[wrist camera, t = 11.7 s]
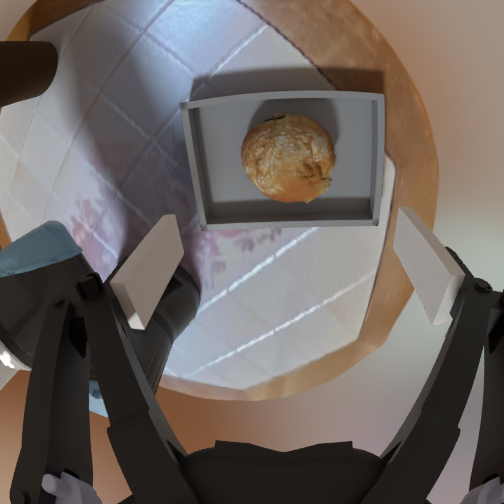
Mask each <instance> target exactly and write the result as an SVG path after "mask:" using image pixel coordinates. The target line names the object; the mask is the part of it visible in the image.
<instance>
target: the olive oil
mask: <svg viewBox="0 0 504 504" xmlns="http://www.w3.org/2000/svg"><path fill="white" fill-rule="evenodd" d="M56 68H57V52H56V49H55V47H54V46H53V45H52V44H51V43H49V42H41V41H0V108H1V107H4V106H7V105H10V104H13V103H16V102H19V101H23V100H26V99H30V98H34V97H37V96H39V95H41V94H43V93H44V92H45V91H46V90H47V89H48V87H49V86H50V84H51V82H52V80H53V78H54V76H55V72H56Z"/></svg>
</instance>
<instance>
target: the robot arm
mask: <svg viewBox="0 0 504 504" xmlns="http://www.w3.org/2000/svg"><path fill="white" fill-rule="evenodd" d="M393 249H394V251H395V253H396V255H397V256H398V258H399V260H400V262H401V264H402V265H403V267H404V269H405V271H406V273H407V275H408V277H409V279H410V280H411V282H412V284H413V286H414V288H415V290H416V292H417V294H418V296H419V298H420V300H421V302H422V304H423V306H424V309H425V311H426V313H427V315H428V317H429V319H430V322H431V323H432V325H437V324H444V323H446V320H447V318H448V316H449V314H450V315H451V317H452V318H453V321H452V323H451V325H450V327H449V329H448V331H447V333H446V335H445V337H446V338H445V340H444V343H443V345H442V348H441V350H440V353H439V355H438V357H437V359H436V362H435V364H434V366H433V368H432V371H431V373H430V375H429V377H428V379H427V381H426V383H425V385H424V387H423V389H422V391H421V393H420V395H419V397H418V399H417V400H416V402H415V404H414V406H413V408H412V409H411V411H410V413H409V415H408V416H407V418H406V420H405V421H404V423H403V425H402V426H401V428H400V429H399V431H398V433H397V434H396V436H395V437H394V439H393V440H392V442H391V443H390V444H389V446H388V447H387V448H386V450H385V451H384V452H383V453H382V454H381V456H380V457H378V456H376V455H374V454H372V453H370V452H367V451H365V450H360V449H356V448H353V447H352V441H348V442H336V443H323V444H316V445H313V446H309V447H305V448H301V449H297V450H293V451H289V452H279V451H275V450H271V449H267V448H263V447H260V446H256V445H253V444H250V443H238V442H227V441H218V440H216V442H215V447H213V448H206V449H202V450H199V451H196V452H194V453H191V454H189V455H188V453H187V452H186V451H185V449H184V448H183V447H182V445H181V444H180V442H179V441H178V439H177V438H176V436H175V434H174V432H173V431H172V429H171V427H170V425H169V423H168V421H167V420H166V418H165V416H164V414H163V412H162V410H161V408H160V406H159V404H158V402H157V400H156V399H155V394H156V391H157V388H158V385H159V382H160V379H161V376H162V373H163V370H164V367H165V364H166V362H167V359H168V356H169V353H170V350H171V348H172V345H173V342H174V340H175V339H176V338H177V337H178V336H179V335H180V334H181V333H182V332H183V331H184V329H185V328H186V327H187V326H188V325H190V324H191V323H192V321H193V320H194V318H195V316H196V313H197V311H198V308H199V304H200V295H199V291H198V288H197V286H196V284H195V282H194V281H193V279H192V278H191V276H190V275H189V274H188V273H187V272H186V271H185V270H184V269H183V268H182V267H181V266H179V265H178V264H179V262H180V260H181V259H182V257H183V255H184V250H183V246H182V242H181V238H180V234H179V229H178V225H177V221H176V216H175V214H170V215H163V216H162V217H161V219H160V220H159V221H158V222H157V223H156V224H155V226H154V227H153V228H152V229H151V230H150V232H149V233H148V234H147V235H146V236H145V238H144V239H143V240H142V241H141V243H140V244H139V245H138V246H137V248H136V249H135V250H134V251H133V253H132V254H131V255H130V256H127V257H126V258H124V259H123V260H122V261H120V263H119V264H118V265H117V266H116V268H115V269H114V270H113V271H112V273H111V274H110V275H109V277H108V278H107V279H106V281H105V282H104V283H103V282H102V280H101V278H100V276H99V274H98V273H97V272H94V270H93V269H92V267H91V266H90V264H89V263H88V261H87V260H86V258H85V257H84V255H83V254H82V251H83V250H82V248H81V247H80V246H78V245H77V244H76V242H75V241H74V239H73V238H72V236H71V235H70V233H69V232H68V230H67V229H66V227H65V226H64V225H63V224H62V223H60V222H58V221H48V222H46V223H44V224H42V225H40V226H39V227H37V228H35V229H33V230H32V231H30V232H29V233H27V234H25V235H24V236H22V237H20V238H19V239H17V240H16V241H14V242H12V243H11V244H9V245H8V246H6V247H5V248H3V249H2V250H1V251H0V390H1V389H2V388H3V386H4V385H5V384H6V383H7V382H8V381H9V380H10V378H12V377H13V376H14V374H15V373H16V372H17V371H18V370H20V369H23V370H28V371H31V374H30V379H29V384H28V391H27V397H26V404H25V411H24V421H23V432H22V448H21V451H20V455H19V458H18V461H17V465H16V468H15V472H14V476H13V480H12V484H11V488H10V501H11V504H102V501H101V499H100V498H99V497H98V496H97V493H96V491H95V490H94V489H93V465H92V454H91V441H90V423H89V410H91V411H93V412H95V413H98V414H100V415H103V416H105V417H108V418H109V421H110V427H108V428H107V433H108V437H109V440H110V443H111V445H112V448H113V451H114V453H115V456H116V458H117V461H118V463H119V465H120V468H121V470H122V473H123V474H124V477H125V479H126V481H127V483H128V486H129V488H130V490H131V492H132V495H131V496H129V497H127V498H126V499H124V500H123V501H121V502H120V503H118V504H431V503H430V502H429V501H428V500H427V499H426V498H427V496H428V494H429V493H430V491H431V489H432V488H433V486H434V484H435V483H436V481H437V479H438V478H439V476H440V474H441V472H442V470H443V469H444V467H445V465H446V463H447V461H448V459H449V457H450V455H451V453H452V451H453V449H454V447H455V444H456V442H457V440H458V437H459V435H460V429H459V428H458V424H459V421H460V419H461V416H462V414H463V411H464V408H465V406H466V403H467V400H468V397H469V395H470V392H471V389H472V386H473V382H474V379H475V376H476V373H477V369H478V365H479V362H480V358H481V354H482V350H483V346H484V361H485V362H484V366H485V367H484V394H483V406H482V416H481V425H480V431H479V438H478V444H477V449H476V454H475V459H474V463H473V469H472V473H471V479H470V486H469V493H468V494H467V495H466V496H465V497H464V499H463V501H462V502H461V503H460V504H504V290H503V292H497V291H493V290H492V287H491V286H490V284H488V282H486V281H484V280H483V279H480V278H474V276H473V275H472V274H471V272H470V271H469V270H468V268H467V267H466V266H465V264H463V262H462V260H461V259H459V257H458V256H457V254H456V253H455V252H454V251H453V250H451V249H450V248H449V247H444V246H443V245H442V243H441V242H440V241H439V240H438V239H437V237H436V236H435V235H434V234H433V232H432V231H431V230H430V229H429V228H428V226H427V225H426V224H425V223H424V222H423V221H422V220H421V218H420V217H419V216H418V215H417V214H416V213H415V212H414V211H413V210H412V209H411V207H399V209H398V217H397V224H396V230H395V236H394V242H393Z"/></svg>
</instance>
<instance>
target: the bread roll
mask: <svg viewBox="0 0 504 504" xmlns="http://www.w3.org/2000/svg"><path fill="white" fill-rule="evenodd" d="M272 117H273V118H272V119H267V120H265V121H263V122H262V123H259V124H257V125H256V126H254V127H253V128H252V129H251V130H250V131H249V132H248V133H247V135H246V136H245V138H244V140H243V143H242V147H241V159H242V166H243V169H244V172H245V174H246V175H247V177H248V179H249V180H250V181H251V182H252V184H253V185H254V186H255V187H257V188H258V189H259V190H260V191H261V192H262V193H263V194H264V195H266V196H268V197H269V198H271V199H274V200H277V201H280V202H284V203H285V202H286V203H287V204H288V203H291V202H298V201H301V202H304V203H305V204H307V203H309V202H310V201H312V200H313V199H314V198H316V197H319V196H320V194H323V193H324V190H325V191H327V190H328V189H329V188H330V186H331V185H332V180H333V179H331V178H330V175H331V172H332V171H333V168H334V166H335V164H336V163H335V161H336V156H335V153H334V146H333V142H332V140H331V137H330V136H329V134H328V132H327V131H326V130H325V129H324V128H323V127H322V126H321V125H320V124H319V123H318V122H316V121H315V120H314V119H312V118H309V117H306V116H303V115H299V114H293V113H289V114H287V113H285V112H283V113H282V112H278V113H275V114H273V115H272Z"/></svg>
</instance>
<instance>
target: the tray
mask: <svg viewBox="0 0 504 504" xmlns="http://www.w3.org/2000/svg"><path fill="white" fill-rule="evenodd" d="M180 109H181V115H182V122H183V129H184V135H185V142H186V148H187V154H188V160H189V166H190V172H191V178H192V183H193V189H194V194H195V200H196V205H197V210H198V215H199V221H200V226H201V231H207V230H230V229H256V228H287V227H329V226H378V224H379V215H380V205H381V195H382V182H383V166H384V139H385V107H384V94H378V93H367V92H352V91H322V90H307V91H277V92H261V93H249V94H240V95H231V96H223V97H215V98H209V99H202V100H196V101H191V102H185V103H180ZM278 112H282V113H283V112H285V113H287V114H289V113H293V114H299V115H303V116H306V117H309V118H312V119H314V120H315V121H316V122H318V123H319V124H320V125H321V126H322V127H323V128H324V129H325V130H326V131H327V132H328V134H329V136H330V137H331V140H332V142H333V146H334V153H335V156H336V161H335V163H336V164H335V166H334V168H333V171H332V172H331V175H330V178H331V179H333V180H332V185H331V186H330V188H329V189H328V190H327V191H325V190H324V193H323V194H320V196H319V197H316V198H314V199H313V200H312V201H310V202H309V203H307V204H305V203H304V202H301V201H298V202H291V203H288V204H287V203H286V202H285V203H284V202H280V201H277V200H274V199H271V198H269V197H268V196H266V195H264V194H263V193H262V192H261V191H260V190H259V189H258V188H257V187H255V186H254V185H253V184H252V182H251V181H250V180H249V179H248V177H247V175H246V174H245V172H244V169H243V166H242V159H241V147H242V143H243V140H244V138H245V136H246V135H247V133H248V132H249V131H250V130H251V129H252V128H253V127H254V126H256V125H257V124H259V123H262V122H263V121H265V120H267V119H272V118H273V117H272V115H273V114H275V113H278Z"/></svg>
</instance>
